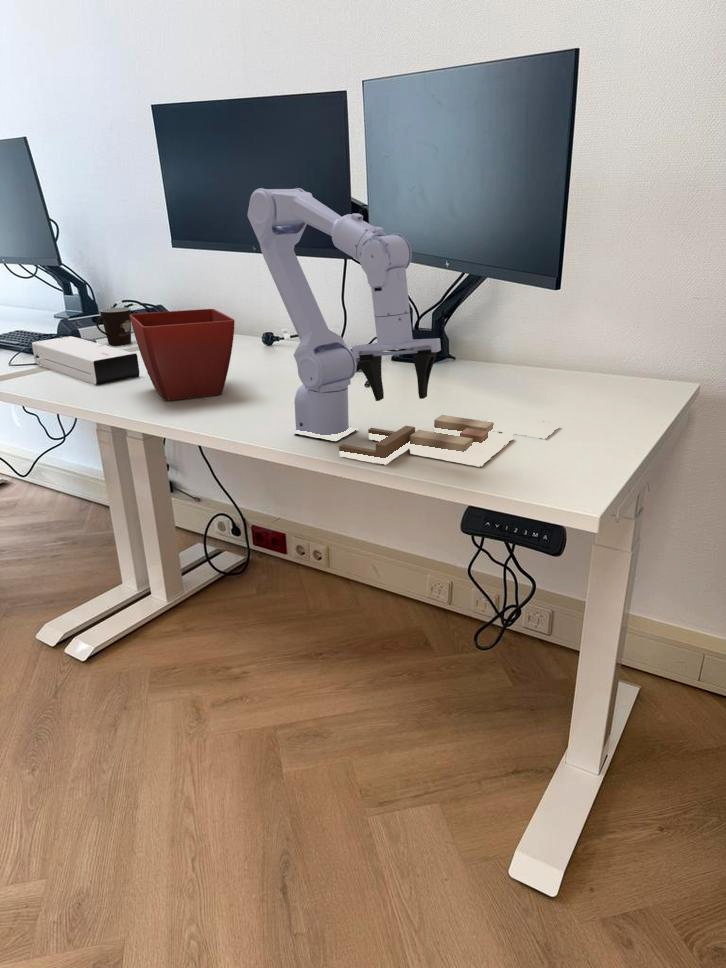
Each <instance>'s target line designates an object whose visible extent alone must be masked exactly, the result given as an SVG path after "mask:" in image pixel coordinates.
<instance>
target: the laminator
mask: <svg viewBox="0 0 726 968" xmlns="http://www.w3.org/2000/svg"><path fill="white" fill-rule="evenodd" d="M31 347H32V353H33V358H34V362H35V364H36V365H37V364H39V365H38V366H40V365H43V366H45V367H44V368H46V369H49V370H52V371H55V372H57V373H61V374H63V375H66V376H69V377H71V378H75V379H77V380H80V381H83V382H86V383H88V384H91V385H95V386H98V385H103V384H107V383H112V382H117V381H121V380H128V379H132V378H136V377H140V368H139V359H138V354H137V353H135V352H132V351H128V350H123V349H121V348H117V347H114V346H110V345H106V344H101V343H99V342H98V343H97V342H94V341H90V340H86V339H82V338H80V337H75V336H70V335H69V336H64V337H56V338H50V339H45V340H37V341H32V342H31ZM43 366H42V367H43Z"/></svg>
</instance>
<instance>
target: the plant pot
mask: <svg viewBox="0 0 726 968" xmlns="http://www.w3.org/2000/svg"><path fill="white" fill-rule="evenodd" d="M130 319H131V328H132V330H133V334H134V337H135V340H136V344H137V348H138V349H139V350H138V351H139V352H140V356H141V359H142V361H143V364H144V366H145V369H146V371H147V374H148V376H149V378H150V381H151V383H152V386H153V387H154V389H155V390H156V392H157V393H158V394H159V396H160V397H161V398H162V400H164V401H168V402H169V401H176V400H185V399H194V398H205V397H213V396H219V395H222V394H223V392H224V391H223V390H224V387H225V384H226V380H227V377H228V372H229V367H230V362H231V358H232V357H231V356H232V350H233V346H234V345H233V344H234V337H235V319H233V317H230V316H228V315H227V314H225V313H222V312H221V311H218V310H217V309H214V308H203V309H189V310H188V309H186V310H184V309H183V310H173V311H171V310H170V311H158V312H157V311H156V312H155V311H154V312H153V311H152V312H143V313H131V314H130Z"/></svg>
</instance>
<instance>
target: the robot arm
mask: <svg viewBox="0 0 726 968" xmlns="http://www.w3.org/2000/svg"><path fill="white" fill-rule="evenodd" d="M248 203H249V205H248V210H247V215H246V216H247V218H248V220H249V222H250V225H251V227H252V229H253V232H254V234H255V236H256V239H257V241H258V243H259V247H260V252H261V254H262V256H263V259H264V261H265V264H266V267H267V268H268V271H269V272H270V273H269V274H270V275H271V277H272V280H273V281H274V284H275V286H276V288H277V291H278V292H279V296H280V297H281V300H282V303H283V305H284V307H285V309H286V312H287V313H288V316H289V318H290V320H291V323H292V325H293V327H294V330H295V332H296V334H297V336H298V339H299V344H298V345H297V347H296V349H295V351H294V353H293V357H294V360H295V362H296V368H297V374H298V378H299V380H300V381H301V383H302V384H301V385H300V386H299V387H298V388H297V390H296V391H295V396H294V414H295V415H294V417H295V431H296V430H300V431H307V432H312V433H315V434H320V435H331V434H338V433H341V432H344V431H346V430H347V429H348V428H349V425H350V424H349V423H350V422H349V386H350V385H351V383H352V382H351V379H353V378H354V377H355V375H356V373H357V367H358V368H359V369H360V370H361V372H362V373H363V375H364V376H365V378H366V380H367V382H368V384H369V386H370V388H371V392H372V393H373V396H374V401H375V402H380V401H382V400H383V399H384V398H385V397H384V386H383V377H382V375H383V374H382V360H383V359H382V358H383V357H384V356H395V355H407V354H414V355H413V356H412V361H413V364H414V368H415V372H416V379H417V392H418V393H417V394H418V398H419V400H422V399H424V400H425V398H427V397H428V387H429V380H430V376H431V373H432V370H433V365H434V363H435V360H436V358H437V353H438V352H440V351H442V348H441V347H442V346H441V345H442V344H441V338H439V337H437V338H420V339H418V338H417V339H414V337H413V332H412V331H413V329H412V321H411V309H410V308H411V307H410V300H409V292H408V291H409V290H408V280H407V278H408V277H407V269H408V268H409V266H410V264H411V263H412V256H413V253H412V246H411V244H410V242H409V241H408V240H407V238H405V237H404V236H403V235H402V234H401V233H391V234H389V235H388V234H387V233H386V232H384V231H385V229H384V228H383V227H382V226H374V225H372V224H370V223H369V222H367V221H365V220H363V219H364V215H362V214H360V213H352V214H351V213H348V214H345V215H343V216H341V215H340V214H338V213H337V212H335V211H334V210H333V209H332V208H329V207H328V206H327V205H325V204H323V203H322V202H321V201H319V200H318V199H316V198H315V197H313V194H312V193H311V192H308V191H305V190H304V189H303V188H301V187H300V188H299V187H295V188H273V189H271V188H270V189H266V188H263V187H261V188H257V189H255V190H254V191H253V192H252V193H251V195H250V199H249V202H248ZM307 225H308V226H311V227H312V228H315V229H317V230H319V231H321V232H323V233H325V234H326V235H329V236H330V237H331V240H332V243H333V246H334V247H335V248H337V249H338V250H340V251H342V252H343V253H345V254H346V255H348V256H350V257H352V258H353V259H354V260H356V261H358V262H359V263H360V267H361V269H362V270H363V271H364V273H365V274H366V278H367V279H366V280H367V284H368V285H369V287H370V290H371V291H370V292H371V299H372V309H373V317H374V323H375V333H376V334H375V335H376V342H374V343H372V342H371V343H364V344H356V345H353V346H351V348H352V349H350V348H349V346H348V345H347V344H346V343H345V340H344V337H343V336H341V335H339V334H337V333H336V332H334V331H332V330H330V328H329V327H328V325H327V322H326V320H325V318H324V316H323V314H322V312H321V309H320V307H319V304H318V302H317V300H316V297H315V295H314V293H313V291H312V288H311V286H310V284H309V282H308V279H307V277H306V275H305V273H304V271H303V267H302V266H301V264H300V261H299V259H298V257H297V255H296V252H295V245H297V244H298V243H299V242H300V240H301V238H302V235H303V233H304V231H305V229H306V226H307ZM403 349H404V350H403ZM393 350H395V351H393ZM357 359H358V361H357Z"/></svg>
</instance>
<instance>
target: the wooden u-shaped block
mask: <svg viewBox="0 0 726 968" xmlns="http://www.w3.org/2000/svg"><path fill="white" fill-rule="evenodd" d="M493 425H494V423H493V422H487V420H479V419H471V418H466V417H461V416H460V417H458V416H455V415H454V416H452V415H446V414H441V415H440V416H438V417H436V418H435V419H434V421H433V428H434V427H435V428H441V429H448V430H457V431H462V432H461V433H460V436H454V435H448V434H442V433H436V432H434V431H428V430H424V429H423V430H422V429H418V430H415V433H413V434H411V435H410V444H415V445H422V446H429V447H435V448H441V449H448V450H456V451H462V452H464V451H466V450H467V449H468V448H469V447H470V446H472V443H473V442H479V443H482V442H483V441H485V440H486V439H487V438H488V432H489V431H491V430H492V429H493Z"/></svg>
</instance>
